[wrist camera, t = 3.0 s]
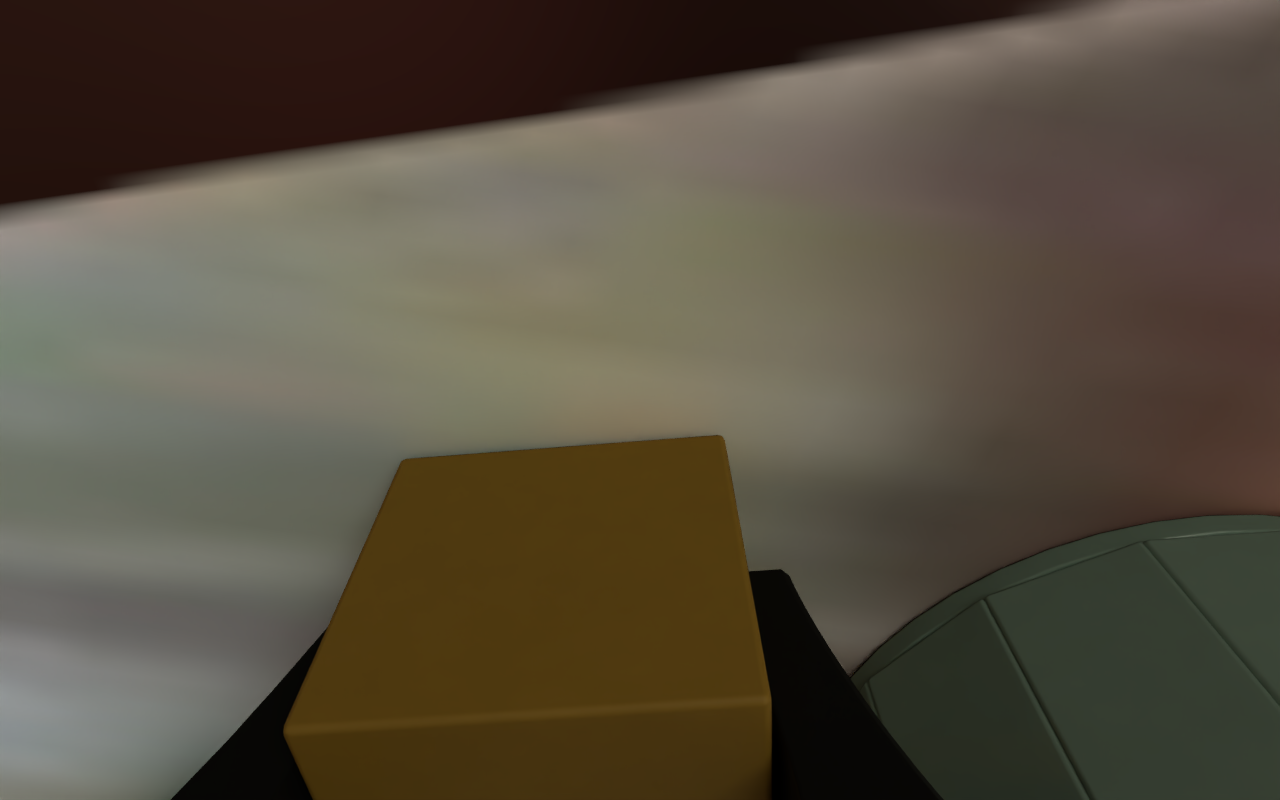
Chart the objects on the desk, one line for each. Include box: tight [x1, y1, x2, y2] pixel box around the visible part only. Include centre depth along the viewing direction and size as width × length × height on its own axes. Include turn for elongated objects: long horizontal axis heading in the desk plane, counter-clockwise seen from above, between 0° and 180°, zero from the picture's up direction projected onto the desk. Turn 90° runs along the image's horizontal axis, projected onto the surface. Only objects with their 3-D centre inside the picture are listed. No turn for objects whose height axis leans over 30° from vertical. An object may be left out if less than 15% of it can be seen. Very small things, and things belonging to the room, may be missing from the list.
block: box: [283, 435, 772, 800], centre depth 10 cm, size 4×4×4 cm
